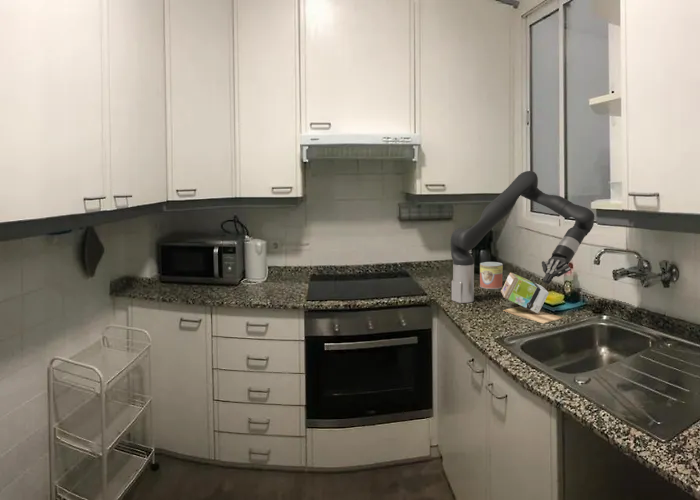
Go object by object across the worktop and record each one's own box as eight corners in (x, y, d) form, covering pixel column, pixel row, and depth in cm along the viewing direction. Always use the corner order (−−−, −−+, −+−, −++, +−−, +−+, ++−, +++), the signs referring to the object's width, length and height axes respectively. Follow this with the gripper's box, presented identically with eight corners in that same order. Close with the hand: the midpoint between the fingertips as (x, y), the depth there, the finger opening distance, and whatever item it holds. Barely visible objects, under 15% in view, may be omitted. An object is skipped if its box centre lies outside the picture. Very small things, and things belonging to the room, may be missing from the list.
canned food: (476, 287, 222) (476, 264, 221) (484, 283, 231) (484, 261, 229) (498, 290, 215) (498, 266, 214) (505, 285, 224) (505, 262, 222)
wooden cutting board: (544, 323, 163) (544, 322, 163) (502, 311, 180) (502, 310, 180) (563, 318, 168) (563, 317, 168) (521, 306, 185) (521, 305, 185)
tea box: (550, 291, 170) (514, 276, 173) (538, 314, 172) (503, 298, 175) (542, 285, 185) (509, 271, 187) (532, 306, 186) (499, 292, 189)
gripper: (584, 257, 175) (563, 291, 171) (555, 253, 187) (535, 285, 183) (576, 245, 172) (555, 279, 168) (548, 242, 184) (527, 274, 180)
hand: (545, 282), depth 176 cm, fingers closed
